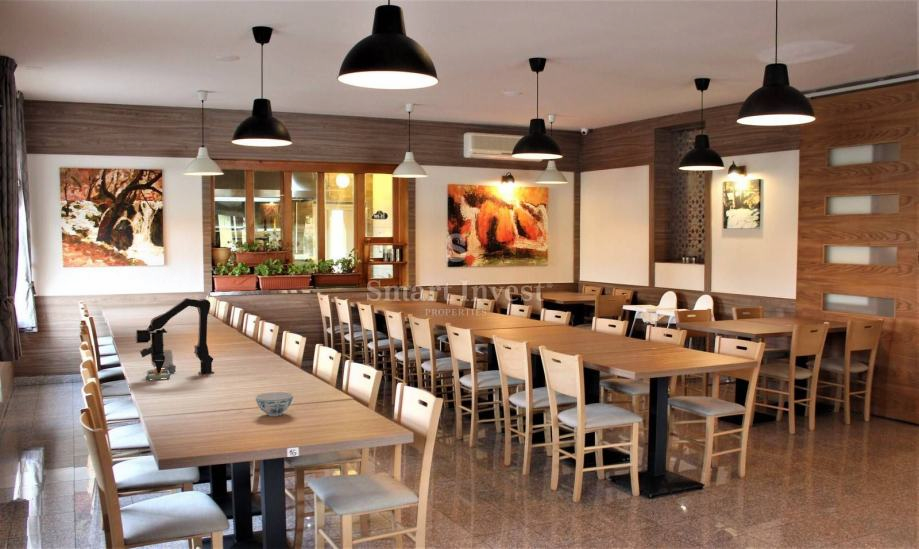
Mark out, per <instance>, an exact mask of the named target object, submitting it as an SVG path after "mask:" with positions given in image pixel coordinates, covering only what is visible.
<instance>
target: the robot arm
mask: <svg viewBox="0 0 919 549" xmlns="http://www.w3.org/2000/svg"><path fill="white" fill-rule="evenodd" d="M188 307H195V308H197V312H198V317H199V318H198V338H197V339H198V342H197V344H196V345H194V346H193V347H194V351H193V353H194V354H195V357H196V358H197V359H198V360H199V361H200V371H198V372H197V373H198V374H200V373H201V375H207V374H208V373H210V374H215V371H213V369H212V368H213V366H212V363H213V361H214V357H213V356H211V355H210V353H209V352H210V351H209V346H208V343H207V342H208V341H207V339H208V337H207V336H208V316H209V313H210V310H211V301H209V300H208V299H205V298H201V299H191V298H183V300H182V301H180V302H179V303H177V304H176V305H174V306H173V307H172V308H170V309H169V310H167V311H166V312H164V313H161V314H160V315H157V316H155V317H153V318H151V320H150V324H149V326H147V328H146V329H136V331H135V332H136V333H135V343H136V344H145V343H149V342H150V341H151V344H150V346H149V347H145V348H142V349H141V350H140V351H139V352H140V355H141V358H145V357H146V356H149V355H150V357H151V358H152V361H153V362H154V363H155V365H156V367H155V368H156V369H157V373H160V371H161V368H162V366H163V363H164V361H165V355H164V350H165V349H164V345H165V344H164V334H167V333H168V331H167V330H166V329H165V328H164V326H166V325H167V324H168V322H169V321H170V320H171V319H173V317H175V316H177V314H179V313H181V312H182V311H184V310H185V309H187V308H188ZM151 358H150V359H151Z"/></svg>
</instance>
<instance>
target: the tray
mask: <svg viewBox="0 0 919 549" xmlns="http://www.w3.org/2000/svg"><path fill="white" fill-rule="evenodd" d="M146 377H147V378H148V379H147V381H148V380H149V381H151V380H150V379H161V378H170V379H171V374H170V373H169V370H165V369H162V373H161V374H160V375H155V373H154V370H148V371H147V372H146Z"/></svg>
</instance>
